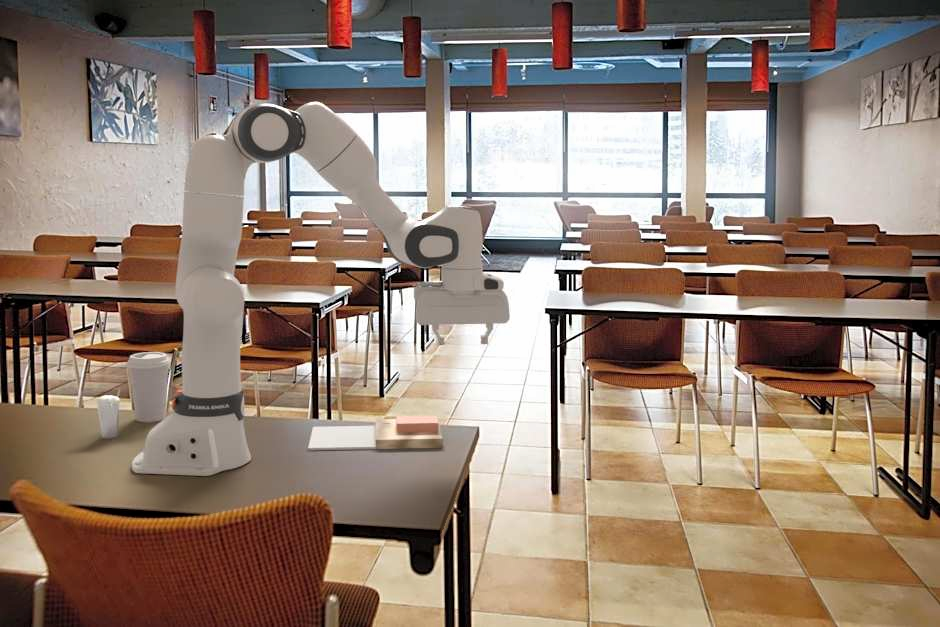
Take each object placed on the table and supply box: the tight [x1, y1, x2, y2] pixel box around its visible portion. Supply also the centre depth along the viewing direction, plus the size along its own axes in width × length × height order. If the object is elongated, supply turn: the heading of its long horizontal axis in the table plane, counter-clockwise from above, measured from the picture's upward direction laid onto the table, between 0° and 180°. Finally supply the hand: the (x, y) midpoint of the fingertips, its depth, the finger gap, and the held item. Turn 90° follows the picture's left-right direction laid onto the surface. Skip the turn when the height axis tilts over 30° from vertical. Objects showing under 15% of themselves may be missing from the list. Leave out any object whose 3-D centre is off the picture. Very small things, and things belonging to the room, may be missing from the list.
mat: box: [307, 425, 377, 451], centre depth 198 cm, size 14×16×1 cm
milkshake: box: [96, 388, 121, 440], centre depth 196 cm, size 4×5×10 cm
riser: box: [375, 418, 443, 450], centre depth 199 cm, size 14×16×2 cm
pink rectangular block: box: [395, 415, 440, 433], centre depth 199 cm, size 9×6×2 cm, turn 96°
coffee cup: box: [126, 351, 171, 423], centre depth 210 cm, size 10×10×15 cm
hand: (462, 344), depth 197 cm, fingers open, 8 cm apart
